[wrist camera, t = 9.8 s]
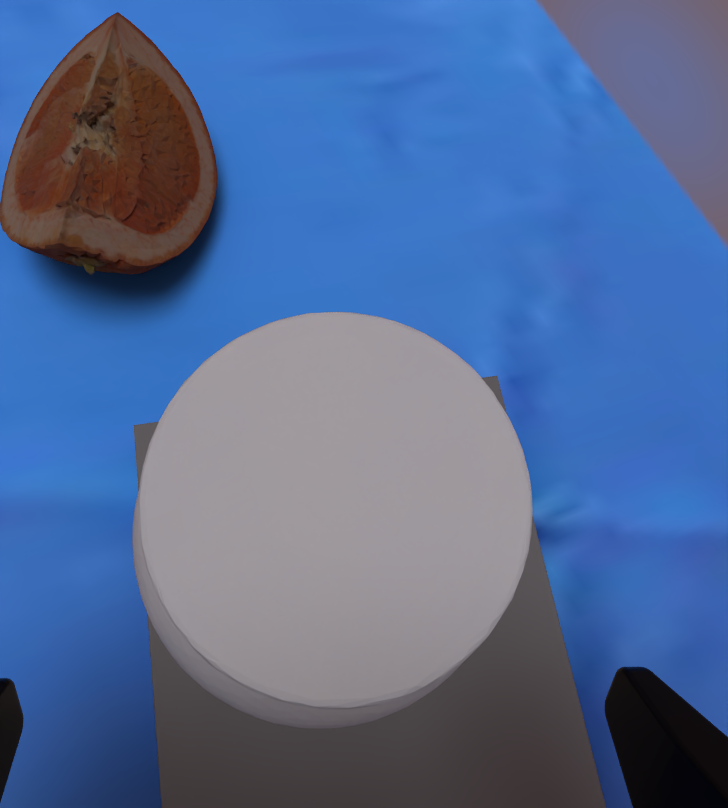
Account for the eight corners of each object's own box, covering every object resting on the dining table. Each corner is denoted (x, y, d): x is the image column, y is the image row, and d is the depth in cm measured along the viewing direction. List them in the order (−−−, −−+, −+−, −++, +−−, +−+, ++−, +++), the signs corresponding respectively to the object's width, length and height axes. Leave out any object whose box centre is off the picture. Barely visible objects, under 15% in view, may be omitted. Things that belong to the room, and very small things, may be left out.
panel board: (668, 1127, 16) (699, 1172, 15) (209, 1293, 14) (201, 1362, 13) (486, 387, 22) (498, 374, 20) (142, 434, 20) (132, 424, 18)
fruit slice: (198, 329, 21) (171, 253, 16) (1, 304, 21) (-86, 219, 16) (234, 137, 24) (220, 24, 19) (60, 110, 23) (-1, -13, 18)
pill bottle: (334, 404, 19) (388, 163, 8) (461, 568, 18) (716, 539, 7) (159, 527, 18) (-64, 428, 7) (288, 716, 17) (277, 973, 6)
